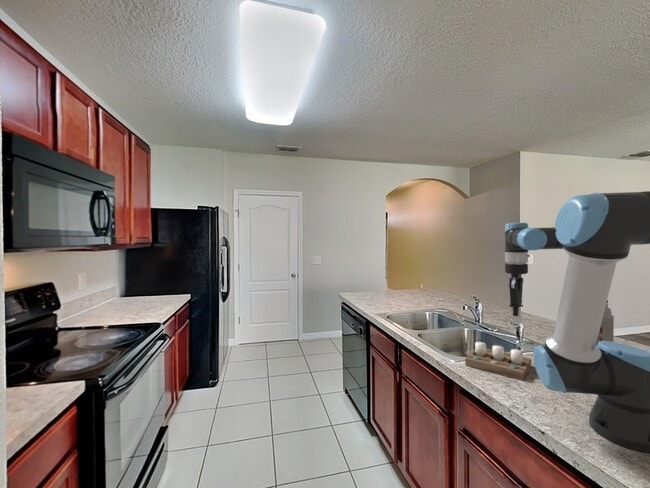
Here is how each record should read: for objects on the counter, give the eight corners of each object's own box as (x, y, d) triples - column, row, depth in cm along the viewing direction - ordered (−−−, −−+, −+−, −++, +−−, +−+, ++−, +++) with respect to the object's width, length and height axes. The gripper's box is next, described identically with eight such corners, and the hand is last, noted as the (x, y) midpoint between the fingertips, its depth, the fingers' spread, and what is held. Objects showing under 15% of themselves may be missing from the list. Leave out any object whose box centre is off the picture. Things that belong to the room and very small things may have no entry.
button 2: (502, 362, 120) (502, 349, 120) (491, 359, 123) (491, 347, 123) (504, 359, 123) (504, 346, 123) (493, 356, 126) (493, 344, 126)
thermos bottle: (605, 379, 110) (605, 302, 109) (579, 370, 117) (580, 298, 116) (618, 375, 112) (618, 300, 111) (592, 366, 120) (593, 296, 119)
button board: (523, 380, 111) (523, 371, 110) (465, 365, 124) (465, 357, 124) (531, 365, 122) (531, 357, 122) (477, 353, 136) (477, 346, 136)
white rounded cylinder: (484, 358, 125) (484, 346, 125) (474, 355, 127) (473, 343, 127) (487, 355, 128) (487, 343, 127) (477, 352, 130) (476, 341, 130)
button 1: (521, 367, 116) (521, 354, 116) (509, 364, 119) (509, 351, 118) (523, 363, 119) (523, 350, 119) (512, 360, 122) (512, 348, 121)
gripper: (524, 265, 110) (524, 329, 111) (531, 261, 120) (530, 321, 121) (501, 264, 115) (501, 325, 116) (509, 260, 125) (509, 317, 126)
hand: (516, 323), depth 119 cm, fingers closed
